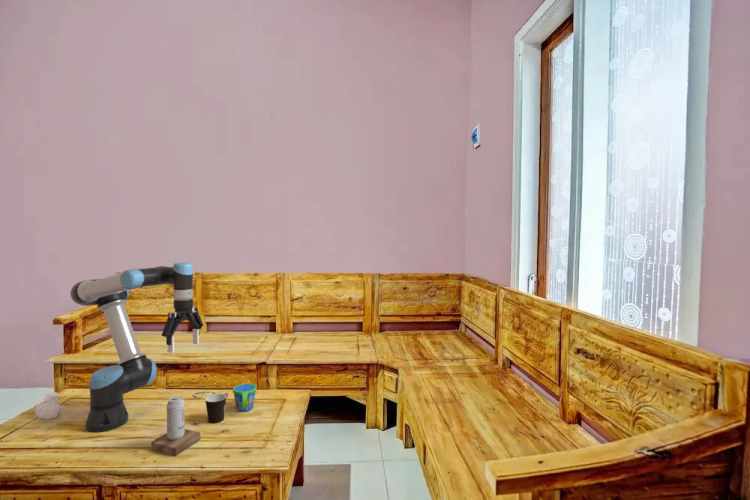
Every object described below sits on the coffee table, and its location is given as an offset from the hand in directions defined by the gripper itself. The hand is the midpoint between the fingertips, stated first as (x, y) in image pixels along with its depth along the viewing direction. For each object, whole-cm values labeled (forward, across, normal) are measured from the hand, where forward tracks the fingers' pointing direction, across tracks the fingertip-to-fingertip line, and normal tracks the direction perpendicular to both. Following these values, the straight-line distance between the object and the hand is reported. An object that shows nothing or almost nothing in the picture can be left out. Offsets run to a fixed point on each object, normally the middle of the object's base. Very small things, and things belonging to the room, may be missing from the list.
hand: (183, 347), depth 167 cm
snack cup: (+33, +20, -16) cm, 42 cm away
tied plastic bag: (+33, -16, +60) cm, 70 cm away
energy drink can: (+30, -15, -11) cm, 35 cm away
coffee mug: (+33, +8, -11) cm, 36 cm away
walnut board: (+33, -15, -11) cm, 38 cm away
